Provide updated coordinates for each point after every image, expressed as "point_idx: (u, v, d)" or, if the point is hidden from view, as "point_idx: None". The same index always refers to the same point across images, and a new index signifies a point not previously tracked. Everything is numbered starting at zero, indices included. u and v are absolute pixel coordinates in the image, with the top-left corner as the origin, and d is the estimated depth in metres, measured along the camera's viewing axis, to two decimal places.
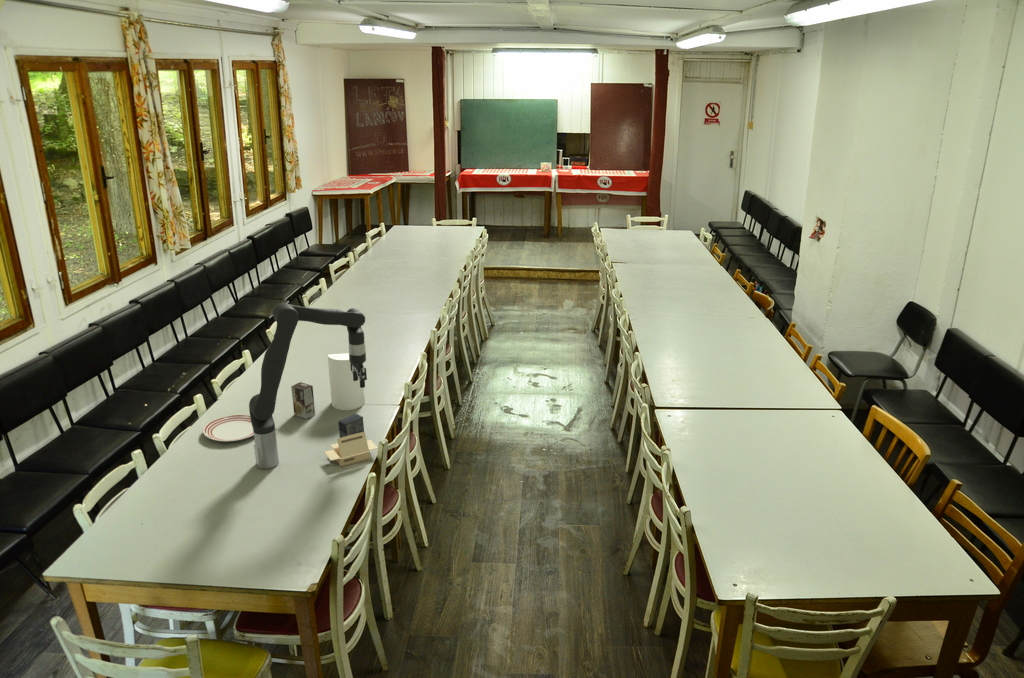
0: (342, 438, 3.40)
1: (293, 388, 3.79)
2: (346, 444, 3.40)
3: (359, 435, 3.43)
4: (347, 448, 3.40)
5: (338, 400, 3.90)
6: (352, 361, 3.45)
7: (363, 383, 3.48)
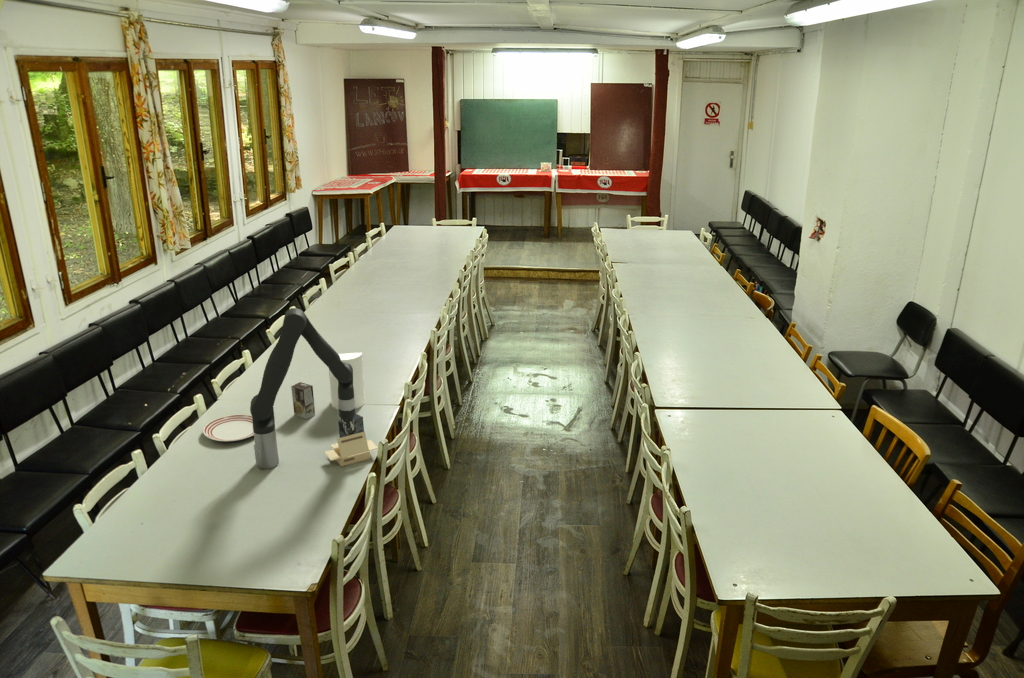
0: (342, 438, 3.39)
1: (293, 388, 3.79)
2: (346, 444, 3.40)
3: (359, 435, 3.43)
4: (347, 448, 3.40)
5: None
6: (342, 416, 3.37)
7: None
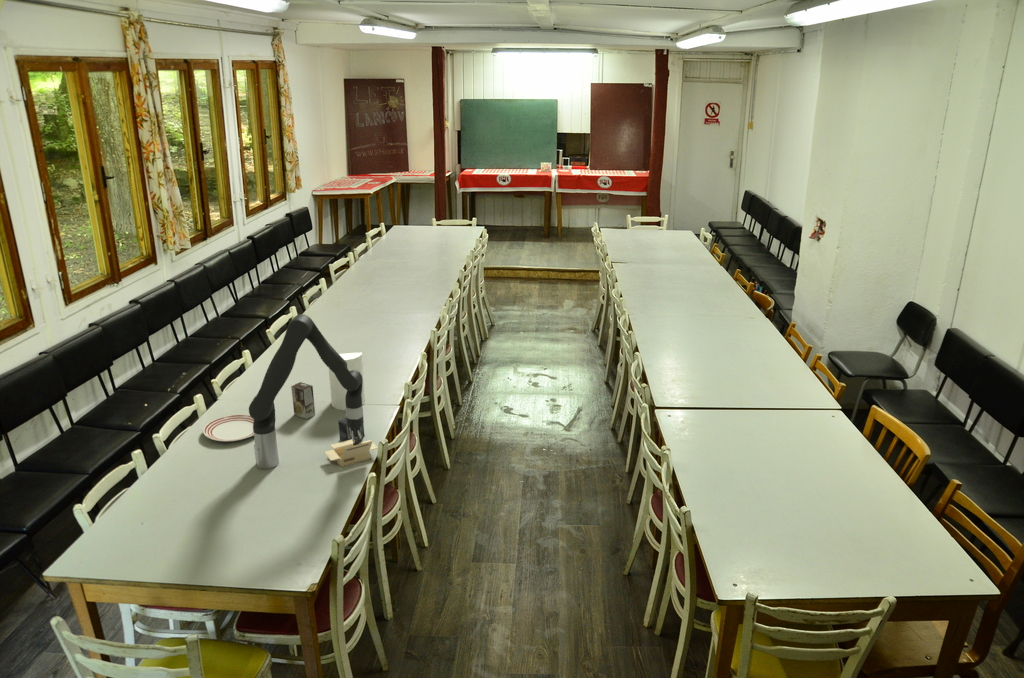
0: (349, 447, 3.33)
1: (293, 388, 3.79)
2: (351, 450, 3.35)
3: (366, 443, 3.37)
4: (350, 452, 3.37)
5: (338, 400, 3.90)
6: (349, 425, 3.30)
7: None
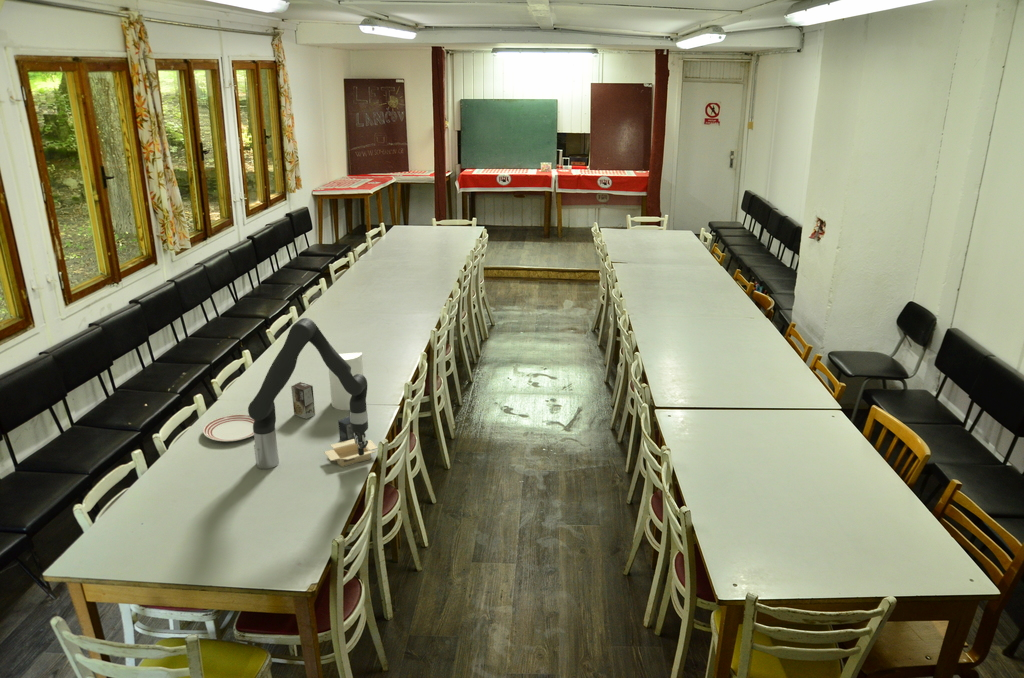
0: (352, 458, 3.31)
1: (293, 388, 3.79)
2: (353, 457, 3.35)
3: (369, 453, 3.36)
4: (351, 457, 3.36)
5: (338, 400, 3.90)
6: (353, 430, 3.26)
7: (362, 451, 3.32)
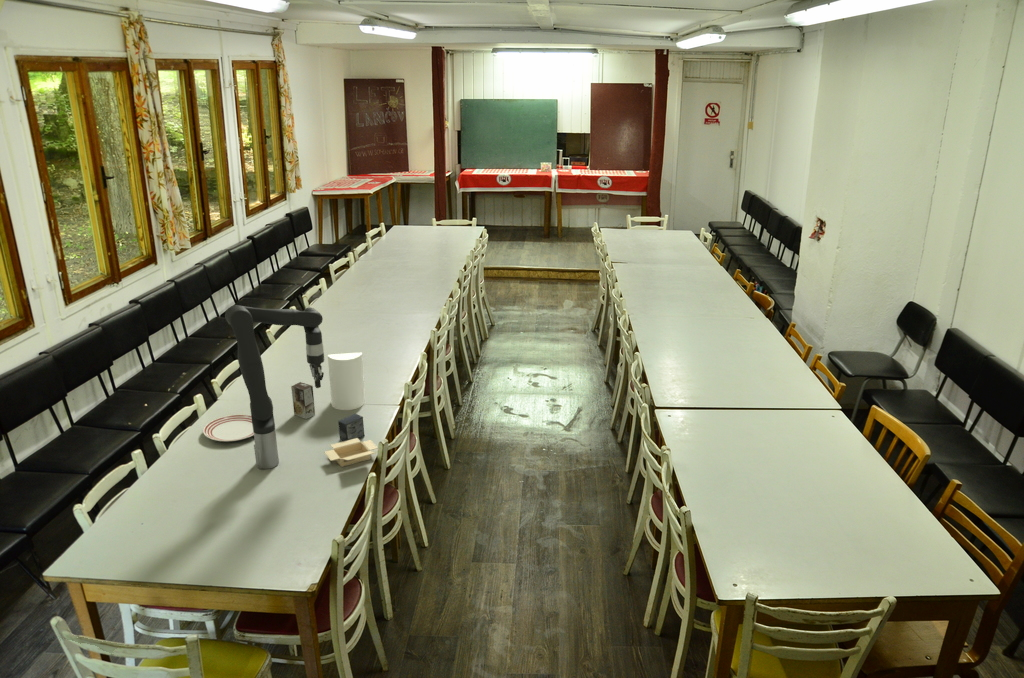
0: None
1: (293, 388, 3.79)
2: (353, 457, 3.35)
3: (369, 454, 3.36)
4: (352, 457, 3.36)
5: (338, 400, 3.90)
6: (309, 362, 3.36)
7: (318, 383, 3.42)
